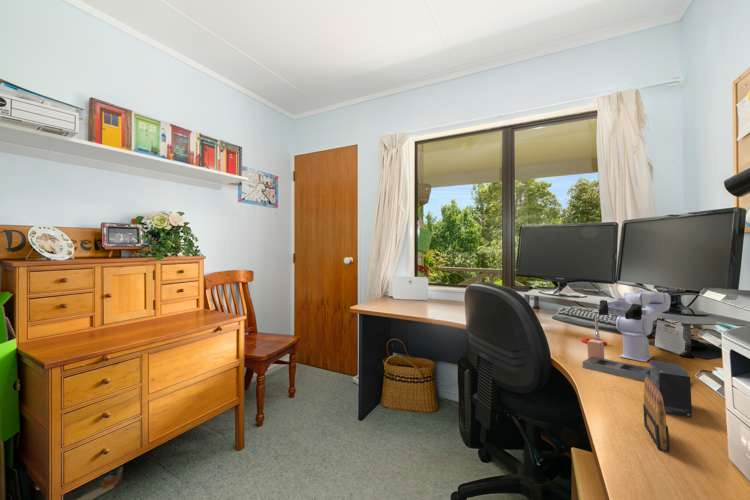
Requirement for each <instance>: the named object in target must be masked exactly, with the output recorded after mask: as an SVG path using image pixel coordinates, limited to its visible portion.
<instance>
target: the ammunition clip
mask: <svg viewBox="0 0 750 500" xmlns="http://www.w3.org/2000/svg"><path fill="white" fill-rule="evenodd" d="M643 383H644V384H643V385H644V386H643V387H644V390H643V403H642V404H643V405H642V406H643V410H642V411H643V422H644V424H643V425H644V427H645V429H646V431H647V433H648V432H649V433H648V435H649V436H650V438H651V440H652V439H653V440H652V442H653V443H654V444H656V445H655V447H656V446H657V447H656V448H657V450H658V451H663V452H667V453H668V452H669V453H671V449H670V447H671V446H670V437H669V435H670V434H669V426H668V424H667V413H665V410H664V403H663V398H662V395H661V393H660V391H658V389H657V388H656V387H655V385H654V384H653V383H652V382H651V380H650V379H649V378H648V376H646V378H645V382H643Z"/></svg>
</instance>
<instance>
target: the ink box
mask: <svg viewBox="0 0 750 500" xmlns="http://www.w3.org/2000/svg"><path fill="white" fill-rule="evenodd" d="M656 320H657V321H656V328H655V337H654V346H655V347H657V348H660V349H663V350H666V351H667V352H668V351H669V352H671V353H674V354H676V355H680V353H682V352H683V351H684V349H685V343H686V344H687V342H686V340H685V338H684V336H683V334H684V328H685V327H684V326H681V325H677V324H673V323H671V322H667V321H664V320H660V319H656ZM666 325H667V326H666ZM668 326H669V327H668ZM670 326H671V327H670ZM672 327H674V328H672Z"/></svg>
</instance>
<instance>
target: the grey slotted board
mask: <svg viewBox="0 0 750 500" xmlns="http://www.w3.org/2000/svg"><path fill="white" fill-rule="evenodd" d="M581 364H582V368H583V369H588V370H591V371H597V372H601V373H605V374H610V375H613V376H619V377H623V378H626V379H633V380H635V381H640V382H643V383H645V378H646V376H648V378H649V379H650V380H651V371H650V367H647V366H644V365H643V366H642V365H637V364H633V363H627V362H622V361H617V360H612V359H608V358H604V359H603V358H598V357H593V356H592V357H590V358H588V357H587V359H584V360H583V361H582V363H581Z"/></svg>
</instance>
